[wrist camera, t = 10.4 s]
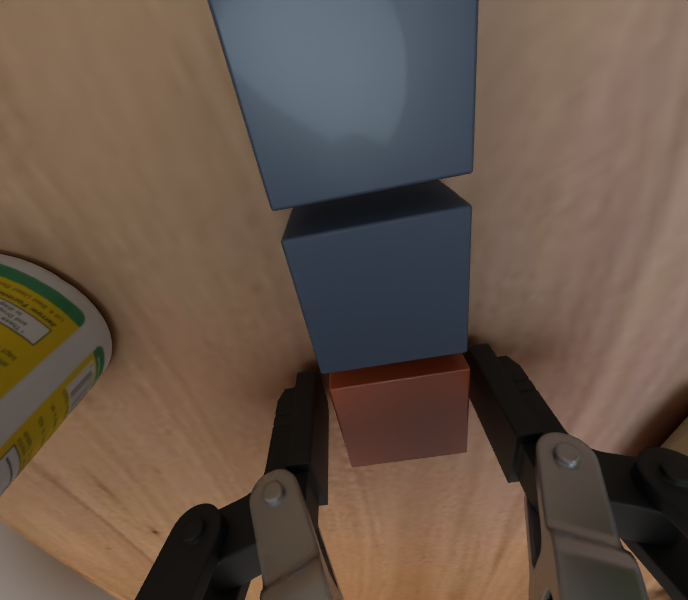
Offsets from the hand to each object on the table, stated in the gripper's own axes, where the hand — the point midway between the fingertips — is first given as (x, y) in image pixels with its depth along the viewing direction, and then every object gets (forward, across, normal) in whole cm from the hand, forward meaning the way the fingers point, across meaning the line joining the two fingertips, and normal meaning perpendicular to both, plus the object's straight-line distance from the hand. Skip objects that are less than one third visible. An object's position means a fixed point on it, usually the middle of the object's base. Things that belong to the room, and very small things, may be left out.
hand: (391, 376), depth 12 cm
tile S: (0, 0, 0) cm, 0 cm away
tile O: (0, 0, -9) cm, 9 cm away
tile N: (0, 0, -5) cm, 5 cm away
